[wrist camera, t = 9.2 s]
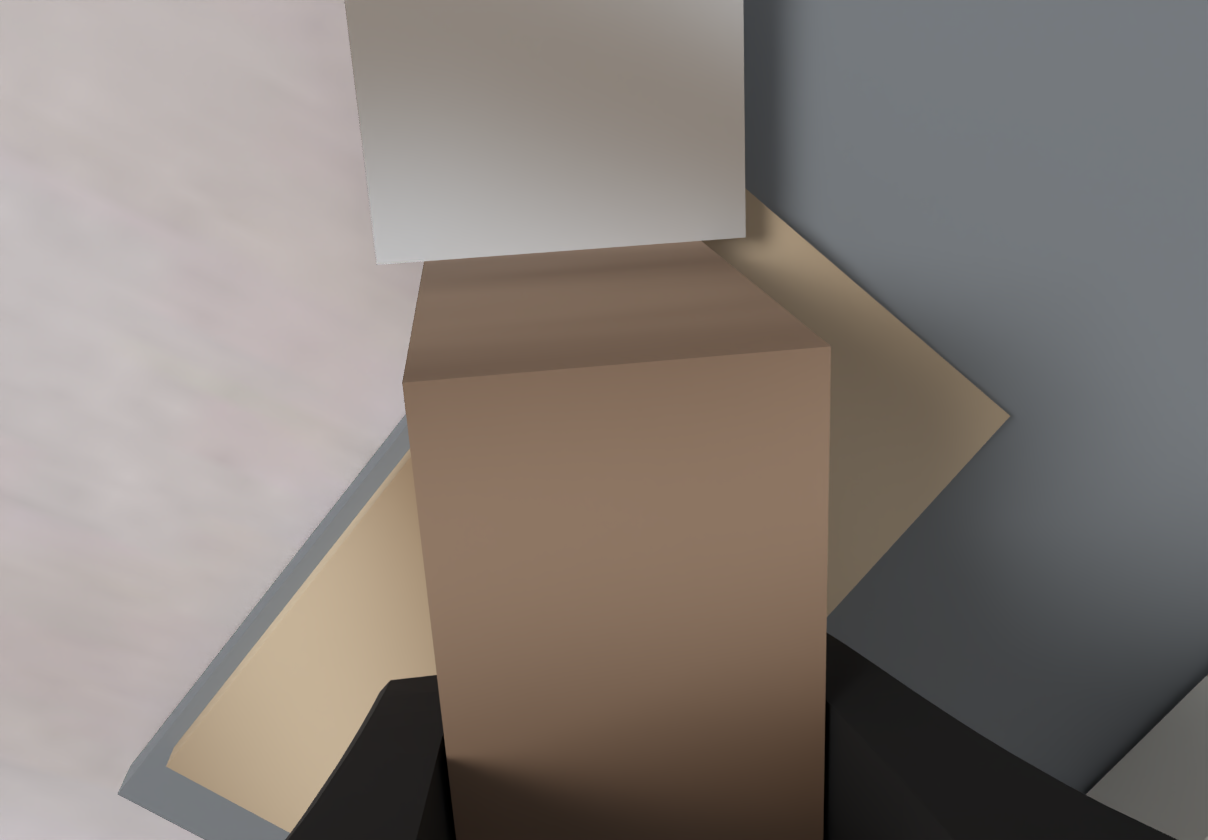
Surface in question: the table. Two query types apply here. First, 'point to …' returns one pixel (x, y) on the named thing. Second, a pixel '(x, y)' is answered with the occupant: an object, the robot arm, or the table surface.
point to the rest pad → (395, 561)
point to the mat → (975, 356)
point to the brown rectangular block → (601, 420)
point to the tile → (1166, 773)
